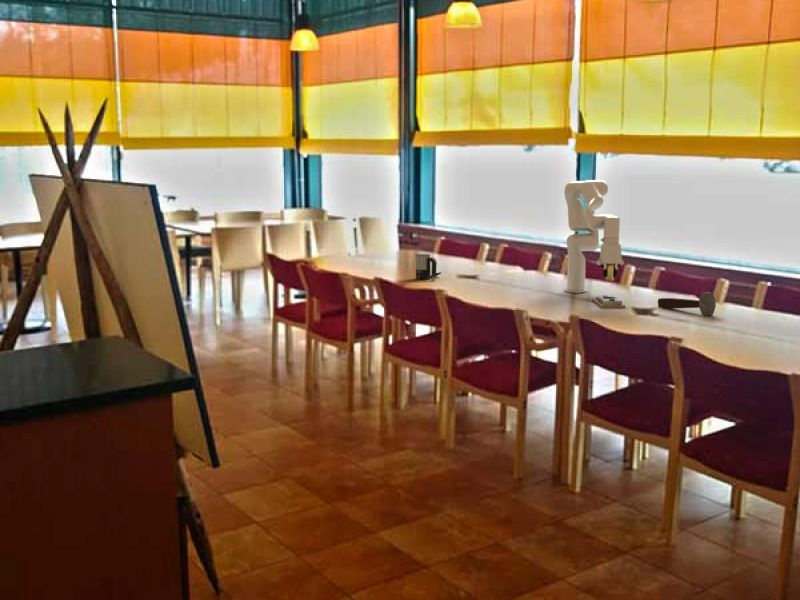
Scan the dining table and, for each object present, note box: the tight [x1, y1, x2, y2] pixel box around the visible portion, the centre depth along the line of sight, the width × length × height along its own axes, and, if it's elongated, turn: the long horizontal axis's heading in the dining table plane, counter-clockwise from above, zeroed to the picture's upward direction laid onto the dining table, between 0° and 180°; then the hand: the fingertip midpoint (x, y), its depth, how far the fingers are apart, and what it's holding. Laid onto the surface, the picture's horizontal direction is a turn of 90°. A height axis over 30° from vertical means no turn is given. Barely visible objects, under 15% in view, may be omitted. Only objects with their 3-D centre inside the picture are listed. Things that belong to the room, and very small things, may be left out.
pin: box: [605, 264, 615, 282], centre depth 432 cm, size 4×4×9 cm
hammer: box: [657, 291, 717, 317], centre depth 415 cm, size 5×11×30 cm
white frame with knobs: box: [591, 294, 626, 309], centre depth 435 cm, size 20×12×4 cm, turn 0°
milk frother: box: [414, 253, 442, 280], centre depth 516 cm, size 14×16×15 cm
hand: (609, 276), depth 433 cm, fingers closed on pin, 4 cm apart
